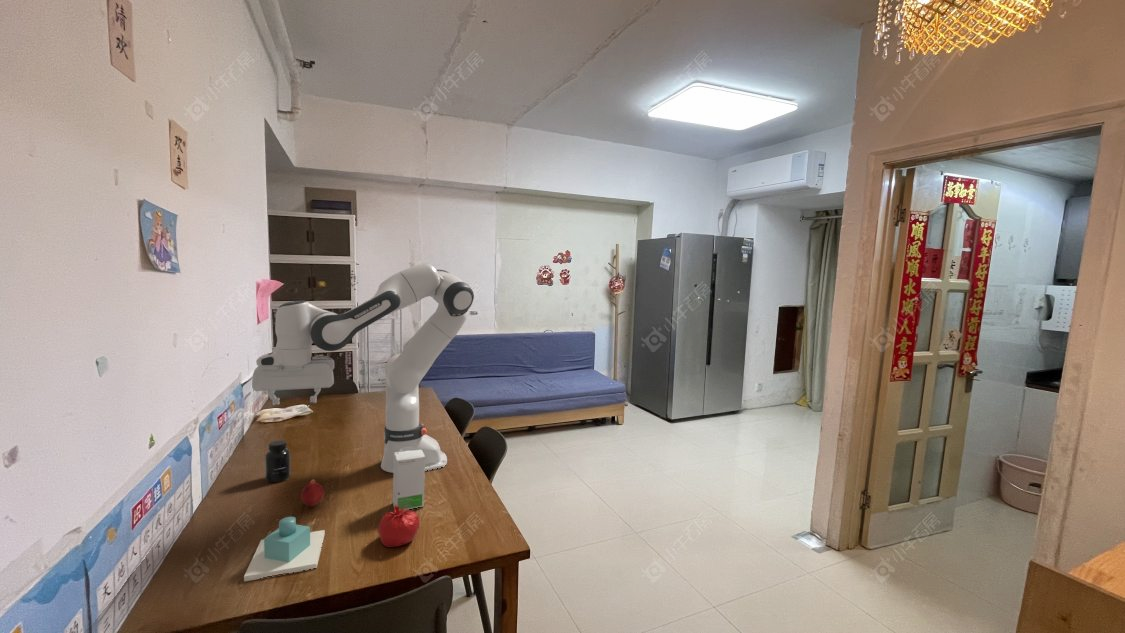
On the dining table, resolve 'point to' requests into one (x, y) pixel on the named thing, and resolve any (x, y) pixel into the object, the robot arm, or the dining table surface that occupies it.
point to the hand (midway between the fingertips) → (295, 403)
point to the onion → (312, 493)
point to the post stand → (274, 567)
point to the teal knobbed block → (287, 540)
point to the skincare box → (409, 479)
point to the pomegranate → (398, 527)
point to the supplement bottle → (277, 462)
